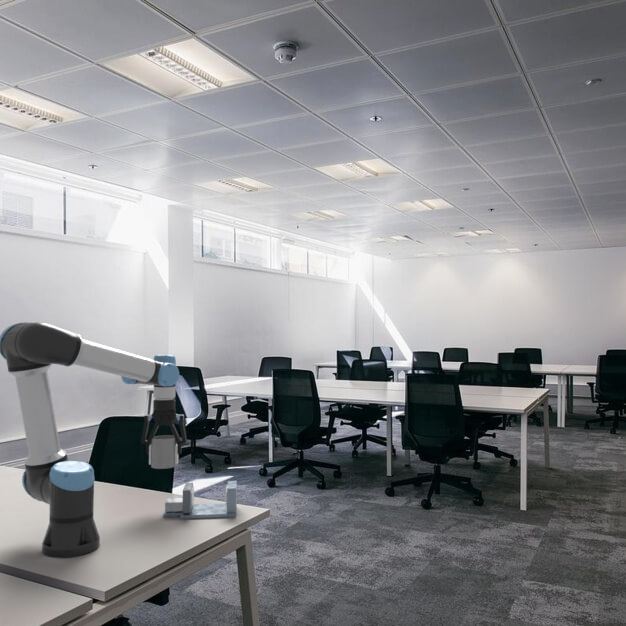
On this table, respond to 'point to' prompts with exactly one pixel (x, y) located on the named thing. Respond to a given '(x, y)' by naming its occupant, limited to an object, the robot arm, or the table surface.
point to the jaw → (181, 500)
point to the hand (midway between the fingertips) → (163, 463)
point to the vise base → (212, 507)
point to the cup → (163, 452)
